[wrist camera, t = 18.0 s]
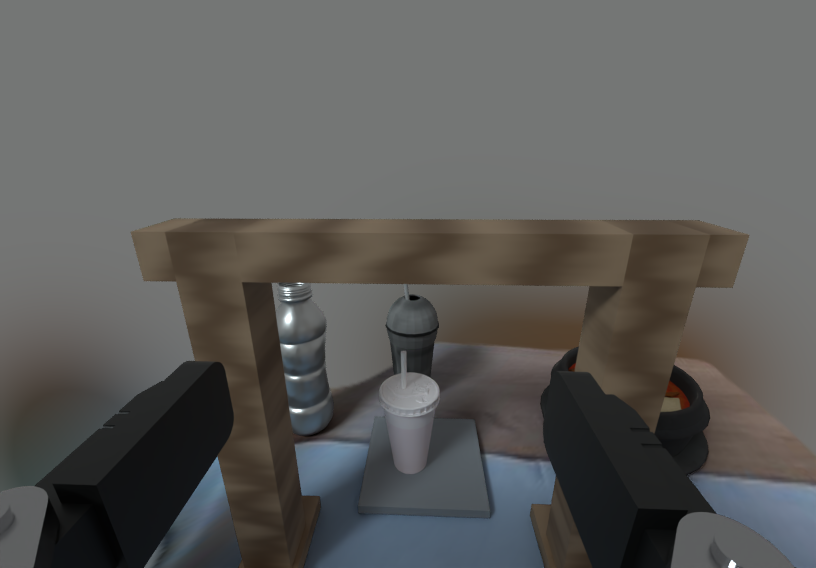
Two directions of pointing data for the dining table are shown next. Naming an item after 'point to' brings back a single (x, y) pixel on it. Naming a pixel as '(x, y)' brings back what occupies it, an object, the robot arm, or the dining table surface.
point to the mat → (427, 475)
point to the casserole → (669, 416)
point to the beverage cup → (412, 332)
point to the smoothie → (409, 416)
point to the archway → (421, 264)
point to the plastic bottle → (304, 358)
